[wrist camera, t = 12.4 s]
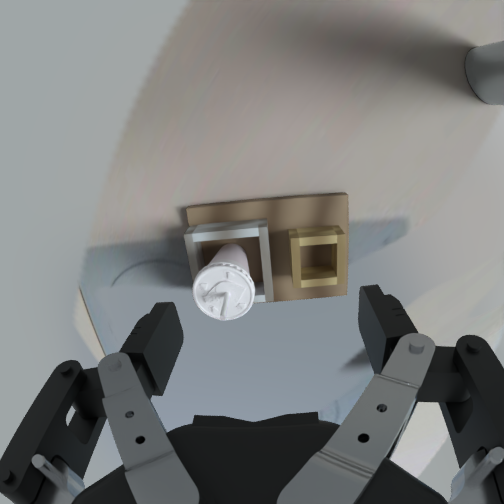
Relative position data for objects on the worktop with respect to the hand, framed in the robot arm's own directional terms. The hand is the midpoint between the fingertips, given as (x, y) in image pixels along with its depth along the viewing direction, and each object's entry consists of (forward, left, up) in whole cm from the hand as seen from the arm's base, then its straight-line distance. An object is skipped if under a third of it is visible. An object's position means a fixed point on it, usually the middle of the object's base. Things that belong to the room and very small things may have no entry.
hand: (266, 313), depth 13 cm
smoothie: (+5, +8, -26) cm, 27 cm away
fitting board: (0, +8, -27) cm, 28 cm away
